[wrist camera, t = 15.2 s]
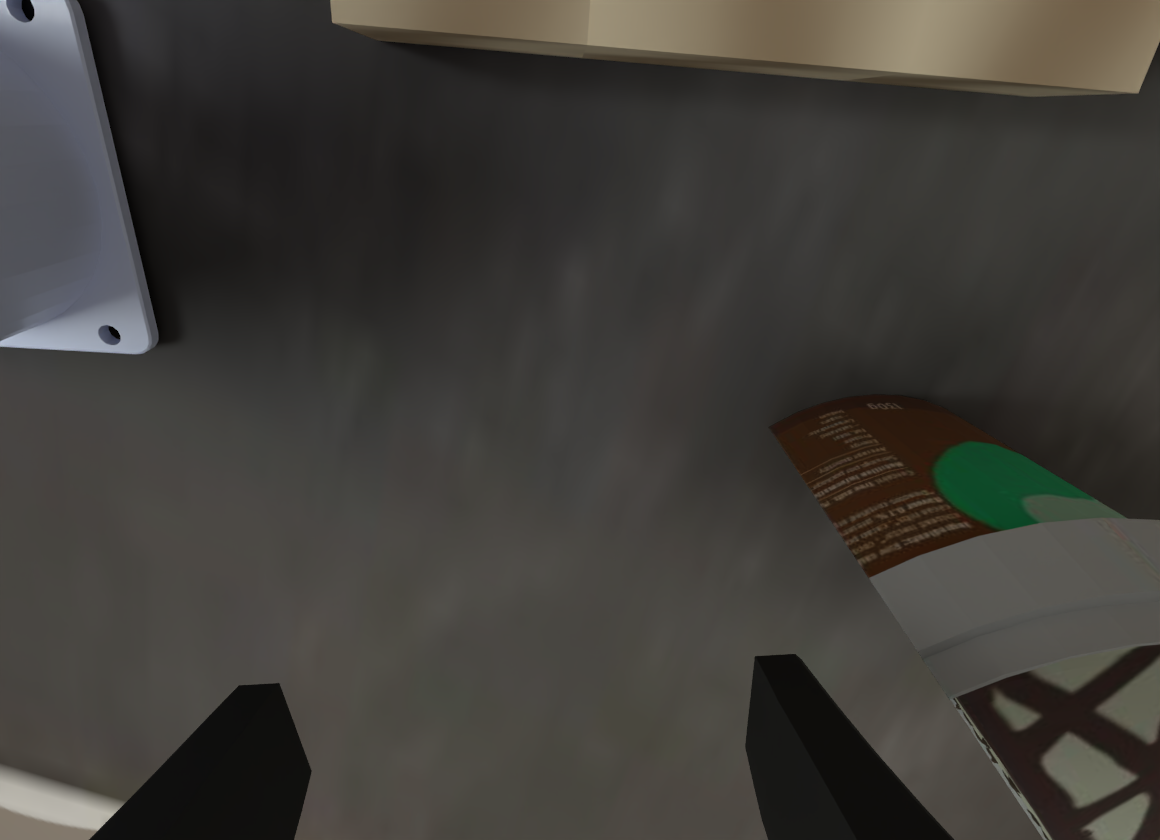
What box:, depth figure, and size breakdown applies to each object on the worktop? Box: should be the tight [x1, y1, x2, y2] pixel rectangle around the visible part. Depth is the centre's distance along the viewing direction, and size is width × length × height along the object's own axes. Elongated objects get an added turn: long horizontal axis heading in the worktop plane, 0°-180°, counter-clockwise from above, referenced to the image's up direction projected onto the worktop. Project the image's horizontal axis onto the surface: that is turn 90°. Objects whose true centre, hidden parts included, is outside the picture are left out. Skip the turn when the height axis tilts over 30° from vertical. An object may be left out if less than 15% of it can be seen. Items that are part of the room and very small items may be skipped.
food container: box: [769, 394, 1160, 840], centre depth 15 cm, size 12×6×10 cm, turn 36°
